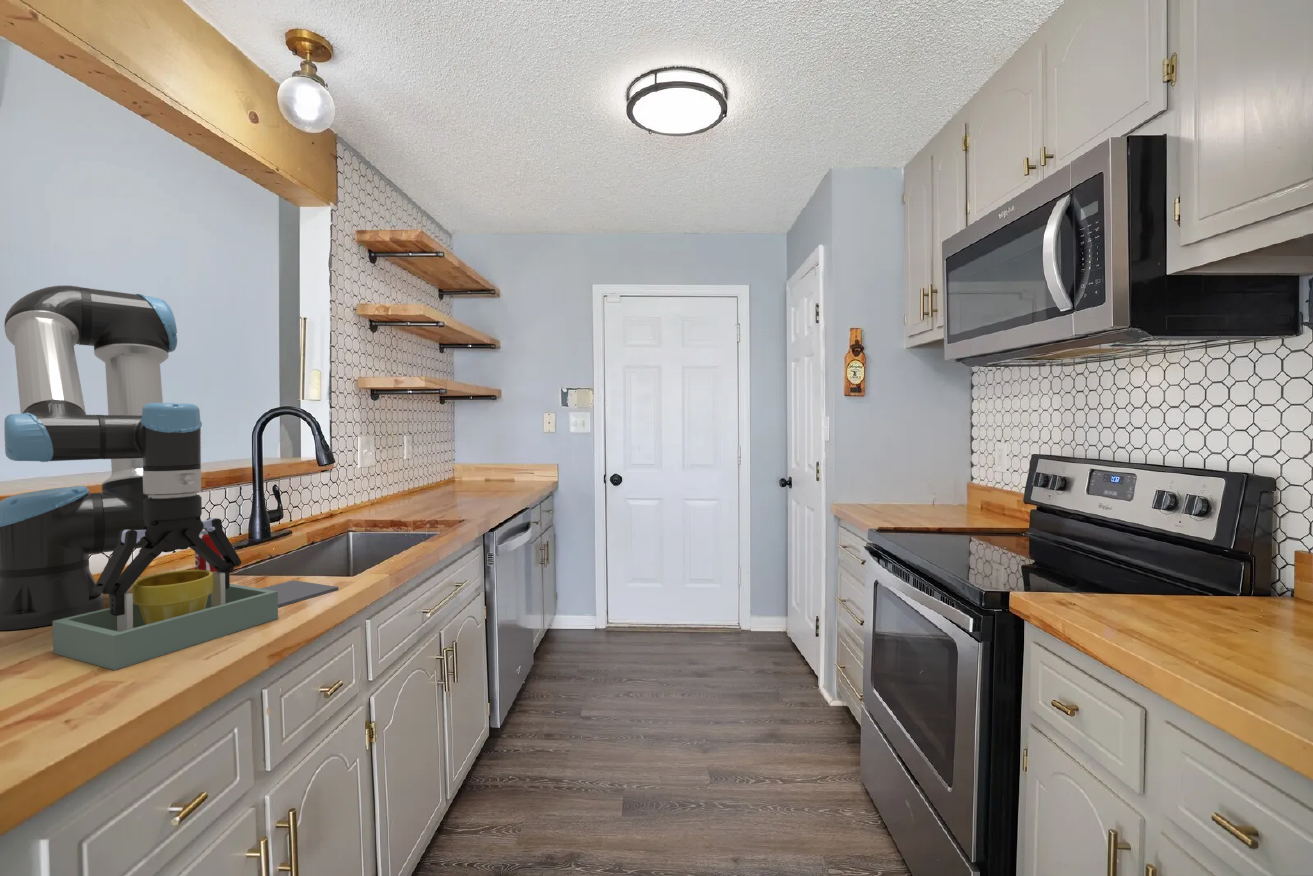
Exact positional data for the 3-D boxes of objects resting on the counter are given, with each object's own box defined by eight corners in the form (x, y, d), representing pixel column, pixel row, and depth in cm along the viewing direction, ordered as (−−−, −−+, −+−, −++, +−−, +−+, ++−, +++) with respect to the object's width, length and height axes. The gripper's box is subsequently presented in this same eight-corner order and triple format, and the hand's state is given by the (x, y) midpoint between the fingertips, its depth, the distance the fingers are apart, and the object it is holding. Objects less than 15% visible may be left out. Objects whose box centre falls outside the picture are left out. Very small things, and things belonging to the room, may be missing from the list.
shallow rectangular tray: (53, 653, 89) (52, 621, 89) (220, 607, 111) (219, 582, 111) (114, 670, 83) (113, 635, 83) (278, 618, 105) (277, 591, 105)
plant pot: (168, 648, 91) (167, 587, 91) (116, 643, 93) (115, 583, 93) (228, 626, 101) (228, 571, 101) (181, 622, 103) (180, 567, 103)
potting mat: (226, 600, 116) (226, 597, 116) (293, 582, 129) (293, 580, 129) (273, 608, 111) (273, 605, 111) (338, 589, 124) (338, 586, 124)
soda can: (218, 585, 127) (217, 530, 127) (190, 586, 126) (190, 531, 125) (229, 579, 132) (228, 526, 132) (202, 580, 131) (201, 527, 130)
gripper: (89, 505, 84) (92, 650, 84) (262, 488, 107) (264, 602, 107) (61, 503, 86) (64, 643, 87) (236, 487, 110) (237, 597, 110)
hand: (174, 621), depth 97 cm, fingers open, 13 cm apart
